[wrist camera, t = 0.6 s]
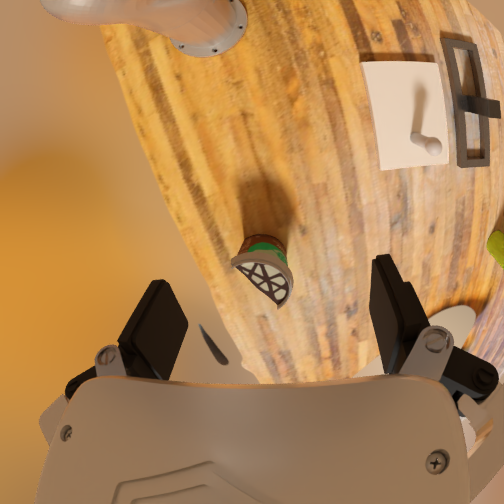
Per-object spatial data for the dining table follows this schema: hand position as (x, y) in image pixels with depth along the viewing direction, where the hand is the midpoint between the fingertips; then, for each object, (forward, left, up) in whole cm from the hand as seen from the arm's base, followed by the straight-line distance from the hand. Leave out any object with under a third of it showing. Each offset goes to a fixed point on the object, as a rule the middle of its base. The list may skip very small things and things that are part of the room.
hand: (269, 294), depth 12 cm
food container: (+18, -6, -35) cm, 40 cm away
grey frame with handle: (-5, +36, -35) cm, 50 cm away
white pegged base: (-3, +22, -35) cm, 41 cm away
